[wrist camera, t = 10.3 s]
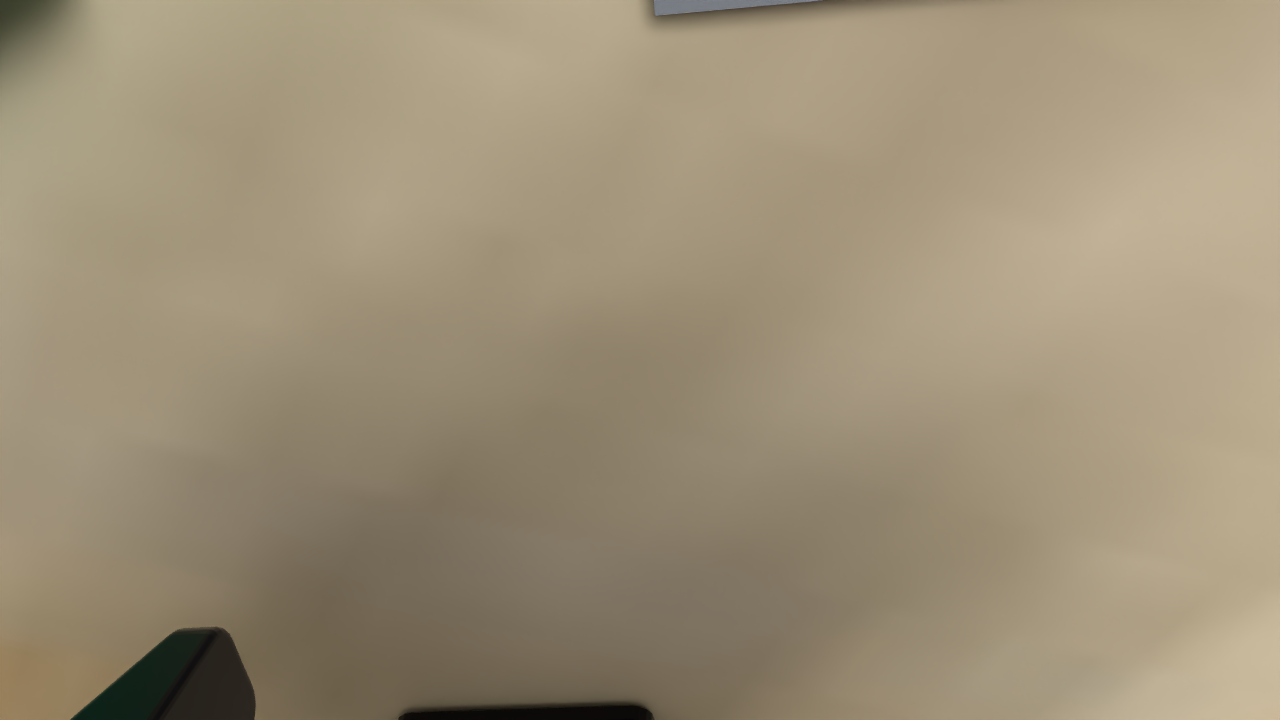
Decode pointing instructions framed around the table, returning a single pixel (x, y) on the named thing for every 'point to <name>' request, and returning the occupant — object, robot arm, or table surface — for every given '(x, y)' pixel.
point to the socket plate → (711, 5)
